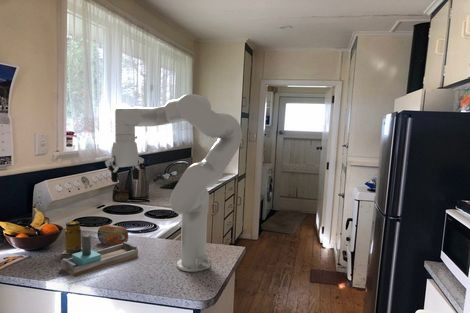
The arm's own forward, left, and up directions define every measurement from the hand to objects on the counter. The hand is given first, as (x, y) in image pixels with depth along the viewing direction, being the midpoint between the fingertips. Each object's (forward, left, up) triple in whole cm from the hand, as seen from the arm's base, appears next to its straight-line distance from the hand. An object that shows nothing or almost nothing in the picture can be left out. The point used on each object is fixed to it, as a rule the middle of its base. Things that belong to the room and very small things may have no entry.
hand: (125, 180), depth 144 cm
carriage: (-2, +18, -28) cm, 34 cm away
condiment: (+17, +13, -31) cm, 37 cm away
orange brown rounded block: (+13, -2, -31) cm, 33 cm away
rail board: (-2, +12, -30) cm, 33 cm away
